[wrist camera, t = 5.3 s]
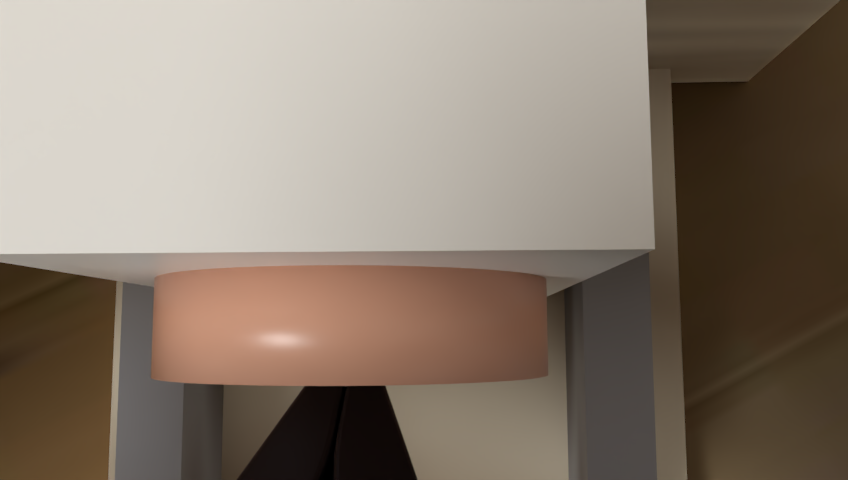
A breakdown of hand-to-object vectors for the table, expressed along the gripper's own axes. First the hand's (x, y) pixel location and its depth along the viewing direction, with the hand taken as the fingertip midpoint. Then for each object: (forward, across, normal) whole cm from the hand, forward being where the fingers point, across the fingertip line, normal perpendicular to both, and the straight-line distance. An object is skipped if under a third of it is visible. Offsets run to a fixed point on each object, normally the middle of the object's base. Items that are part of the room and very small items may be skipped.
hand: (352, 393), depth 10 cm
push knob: (+7, 0, +2) cm, 7 cm away
